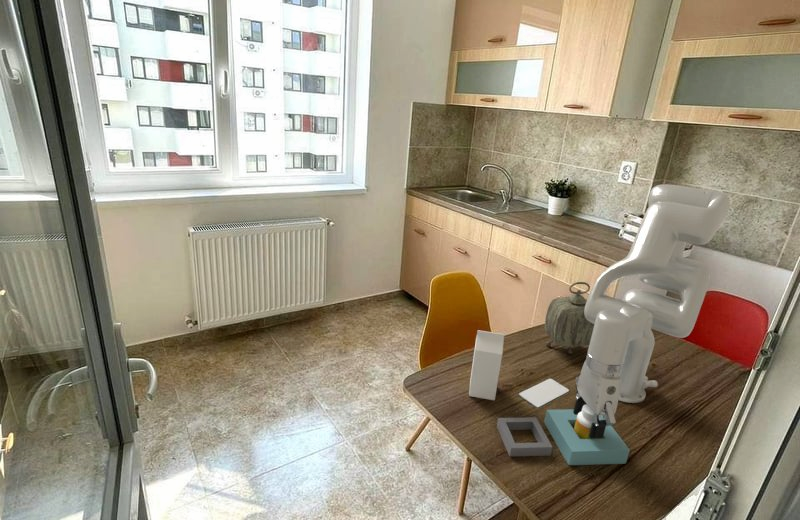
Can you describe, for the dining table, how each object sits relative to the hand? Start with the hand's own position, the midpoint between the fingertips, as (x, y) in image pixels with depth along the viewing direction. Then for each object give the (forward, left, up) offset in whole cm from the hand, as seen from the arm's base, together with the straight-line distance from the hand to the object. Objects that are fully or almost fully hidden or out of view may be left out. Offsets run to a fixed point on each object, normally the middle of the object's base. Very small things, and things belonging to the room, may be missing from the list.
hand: (587, 424), depth 105 cm
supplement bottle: (0, 0, -5) cm, 5 cm away
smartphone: (+2, -19, -6) cm, 20 cm away
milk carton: (+20, -20, -5) cm, 29 cm away
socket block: (0, 0, -5) cm, 5 cm away
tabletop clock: (-15, -41, -5) cm, 44 cm away
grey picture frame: (+15, -1, -5) cm, 16 cm away
